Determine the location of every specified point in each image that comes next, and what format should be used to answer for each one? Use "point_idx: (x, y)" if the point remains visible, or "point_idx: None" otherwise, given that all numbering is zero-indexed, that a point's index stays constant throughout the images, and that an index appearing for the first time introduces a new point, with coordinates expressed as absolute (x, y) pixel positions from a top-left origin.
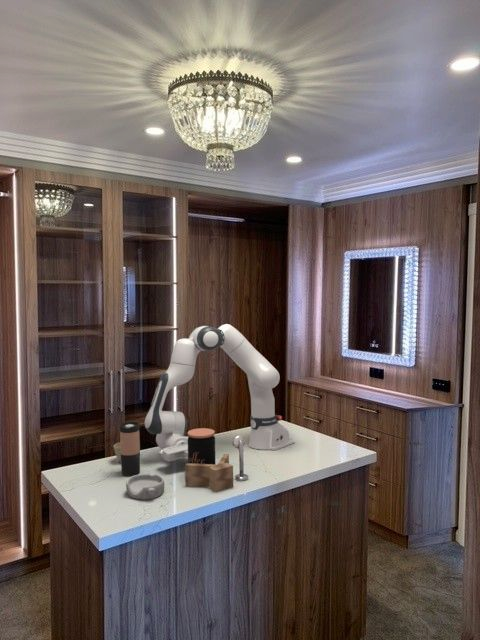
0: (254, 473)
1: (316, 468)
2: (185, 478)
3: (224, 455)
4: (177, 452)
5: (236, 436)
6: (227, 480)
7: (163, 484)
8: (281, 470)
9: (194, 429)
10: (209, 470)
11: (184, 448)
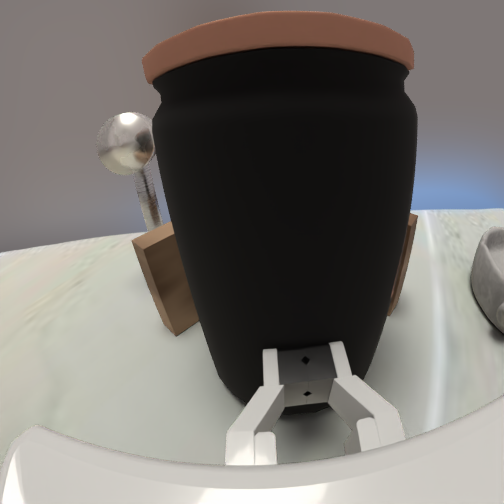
0: (108, 285)
1: (34, 251)
2: (404, 274)
3: (161, 235)
4: (486, 406)
5: (130, 113)
6: None
7: (477, 249)
8: (61, 269)
9: (309, 17)
10: None
11: (400, 482)
